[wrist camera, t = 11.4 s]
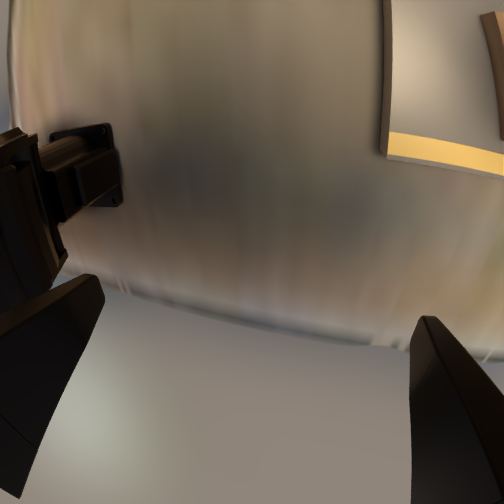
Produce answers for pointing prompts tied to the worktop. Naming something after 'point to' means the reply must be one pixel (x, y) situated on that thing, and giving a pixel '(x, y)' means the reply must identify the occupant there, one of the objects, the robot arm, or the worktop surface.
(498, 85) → the tan piece
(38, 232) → the robot arm
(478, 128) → the plate
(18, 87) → the worktop surface
